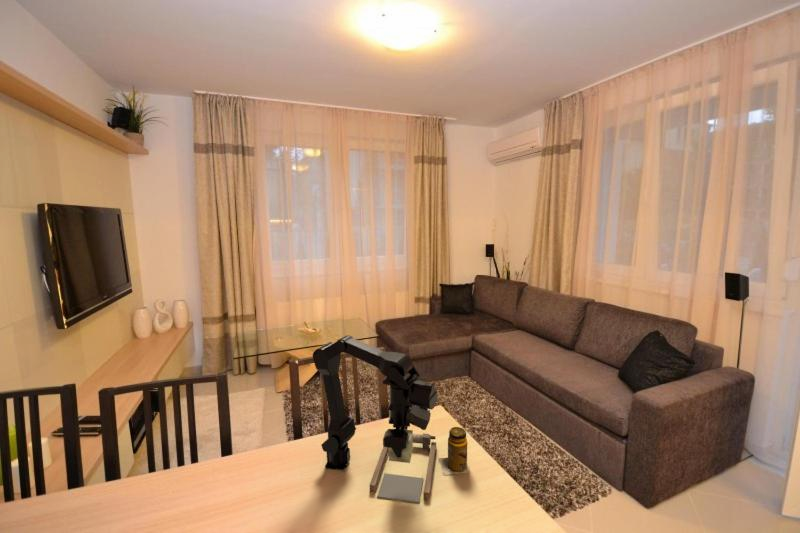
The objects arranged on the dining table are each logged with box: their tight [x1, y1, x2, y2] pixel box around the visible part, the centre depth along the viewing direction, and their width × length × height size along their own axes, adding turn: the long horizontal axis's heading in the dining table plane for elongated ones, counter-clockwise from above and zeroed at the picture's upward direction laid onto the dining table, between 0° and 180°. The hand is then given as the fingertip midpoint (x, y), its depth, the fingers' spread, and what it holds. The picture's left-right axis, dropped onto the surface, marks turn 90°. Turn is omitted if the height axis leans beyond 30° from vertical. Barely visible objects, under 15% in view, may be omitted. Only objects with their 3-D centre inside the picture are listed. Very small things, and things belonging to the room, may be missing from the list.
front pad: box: [376, 472, 424, 504], centre depth 104 cm, size 12×9×1 cm
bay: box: [369, 432, 437, 501], centre depth 113 cm, size 17×24×5 cm
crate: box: [388, 429, 414, 464], centre depth 103 cm, size 6×6×6 cm
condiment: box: [438, 426, 472, 476], centre depth 112 cm, size 7×8×12 cm
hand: (400, 449), depth 103 cm, fingers closed on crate, 6 cm apart
